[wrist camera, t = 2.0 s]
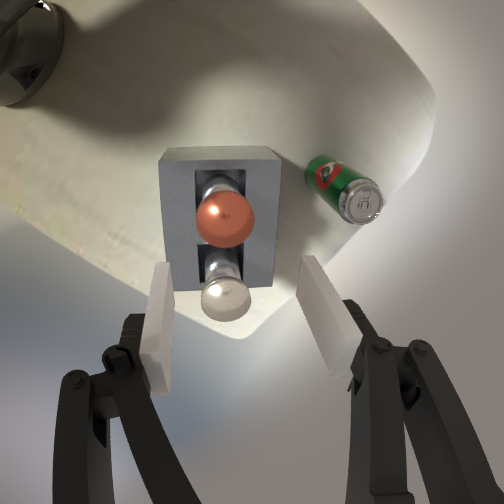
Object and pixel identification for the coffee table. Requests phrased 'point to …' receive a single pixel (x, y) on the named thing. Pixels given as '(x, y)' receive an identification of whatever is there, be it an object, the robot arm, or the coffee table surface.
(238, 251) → the housing
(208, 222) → the orange light bulb
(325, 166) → the soda can
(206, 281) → the white light bulb
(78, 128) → the coffee table surface
